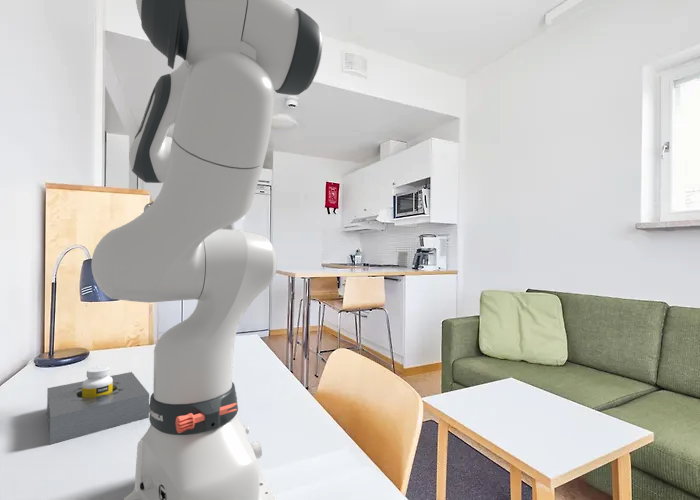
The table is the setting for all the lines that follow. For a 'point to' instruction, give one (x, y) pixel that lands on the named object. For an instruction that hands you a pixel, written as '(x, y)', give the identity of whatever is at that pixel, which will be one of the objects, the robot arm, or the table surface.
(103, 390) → the supplement bottle
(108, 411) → the block
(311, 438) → the table surface
